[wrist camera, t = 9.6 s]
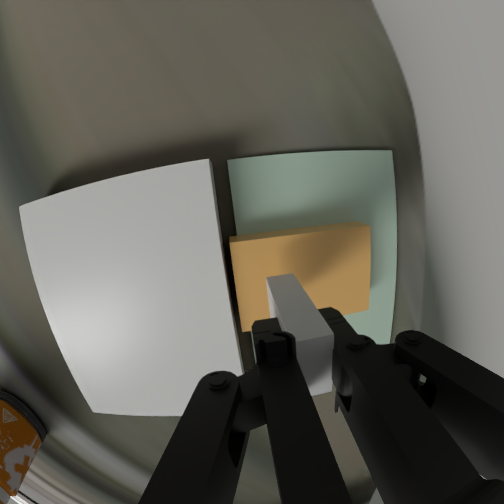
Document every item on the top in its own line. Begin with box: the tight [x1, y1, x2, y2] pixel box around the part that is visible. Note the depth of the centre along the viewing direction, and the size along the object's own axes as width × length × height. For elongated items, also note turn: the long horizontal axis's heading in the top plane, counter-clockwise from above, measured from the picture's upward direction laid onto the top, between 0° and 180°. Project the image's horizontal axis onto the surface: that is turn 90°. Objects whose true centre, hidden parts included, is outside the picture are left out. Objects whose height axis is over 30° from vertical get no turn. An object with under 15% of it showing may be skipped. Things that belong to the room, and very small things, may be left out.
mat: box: [227, 150, 397, 364], centre depth 20 cm, size 18×12×1 cm, turn 7°
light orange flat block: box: [229, 221, 371, 332], centre depth 18 cm, size 9×6×2 cm, turn 96°
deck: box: [19, 159, 245, 416], centre depth 18 cm, size 18×14×3 cm
